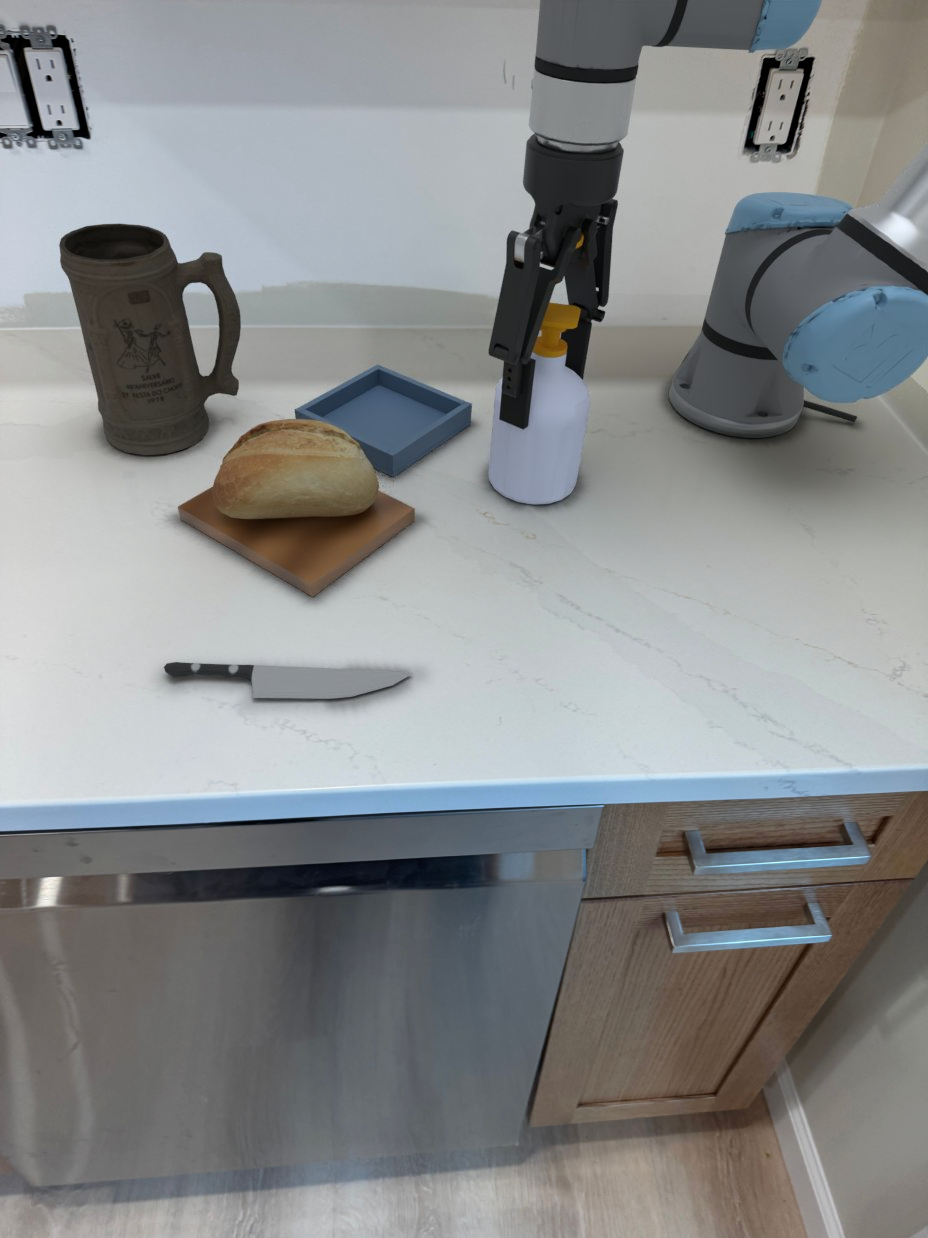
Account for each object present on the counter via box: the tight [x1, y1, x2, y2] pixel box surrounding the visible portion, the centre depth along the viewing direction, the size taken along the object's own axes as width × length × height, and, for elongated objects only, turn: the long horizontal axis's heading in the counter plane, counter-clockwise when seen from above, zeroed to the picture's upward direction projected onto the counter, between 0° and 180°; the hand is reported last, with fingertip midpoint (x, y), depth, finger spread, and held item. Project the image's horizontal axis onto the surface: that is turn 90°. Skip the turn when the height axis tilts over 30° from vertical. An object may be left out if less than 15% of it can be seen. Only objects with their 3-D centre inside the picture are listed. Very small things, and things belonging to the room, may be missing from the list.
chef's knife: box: [163, 661, 414, 700], centre depth 63 cm, size 19×1×3 cm
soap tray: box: [294, 364, 473, 478], centre depth 90 cm, size 14×14×3 cm
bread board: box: [177, 486, 416, 598], centre depth 77 cm, size 17×14×2 cm
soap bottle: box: [488, 233, 591, 505], centre depth 76 cm, size 9×9×25 cm
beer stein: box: [58, 223, 242, 456], centre depth 82 cm, size 15×11×20 cm
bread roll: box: [212, 418, 380, 519], centre depth 74 cm, size 10×15×8 cm, turn 103°
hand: (541, 402), depth 78 cm, fingers closed on soap bottle, 9 cm apart
